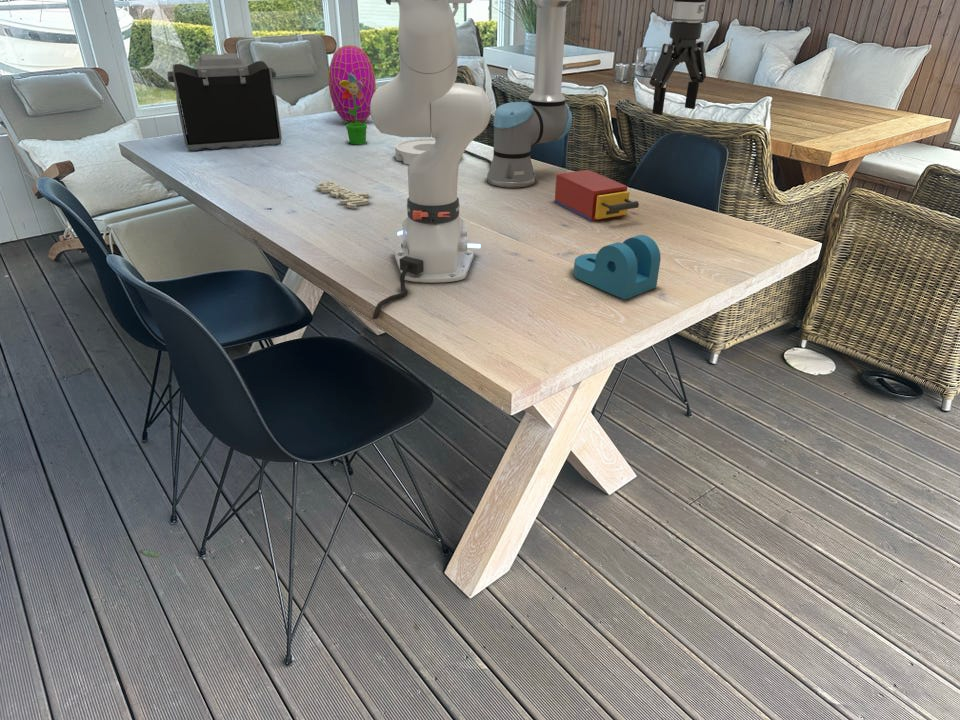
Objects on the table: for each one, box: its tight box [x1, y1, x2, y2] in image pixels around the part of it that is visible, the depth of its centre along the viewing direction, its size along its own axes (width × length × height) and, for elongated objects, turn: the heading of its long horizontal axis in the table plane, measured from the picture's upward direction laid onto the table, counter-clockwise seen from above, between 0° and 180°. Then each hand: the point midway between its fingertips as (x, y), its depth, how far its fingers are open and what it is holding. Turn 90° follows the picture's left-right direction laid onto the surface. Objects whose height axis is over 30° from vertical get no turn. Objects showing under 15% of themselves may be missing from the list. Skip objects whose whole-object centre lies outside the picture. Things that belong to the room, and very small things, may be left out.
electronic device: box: [166, 52, 283, 152], centre depth 253 cm, size 37×22×30 cm, turn 111°
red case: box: [554, 169, 628, 222], centre depth 195 cm, size 19×11×8 cm, turn 27°
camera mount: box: [573, 234, 662, 301], centre depth 150 cm, size 18×10×10 cm, turn 39°
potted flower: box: [339, 73, 368, 145], centre depth 255 cm, size 9×8×25 cm
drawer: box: [595, 190, 640, 220], centre depth 191 cm, size 22×10×6 cm, turn 27°
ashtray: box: [394, 138, 436, 166], centre depth 243 cm, size 23×23×4 cm
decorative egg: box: [328, 44, 377, 124], centre depth 286 cm, size 19×19×30 cm
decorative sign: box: [316, 180, 370, 210], centre depth 205 cm, size 26×1×10 cm
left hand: (431, 24), depth 166 cm, fingers open, 8 cm apart
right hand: (673, 111), depth 180 cm, fingers open, 13 cm apart
